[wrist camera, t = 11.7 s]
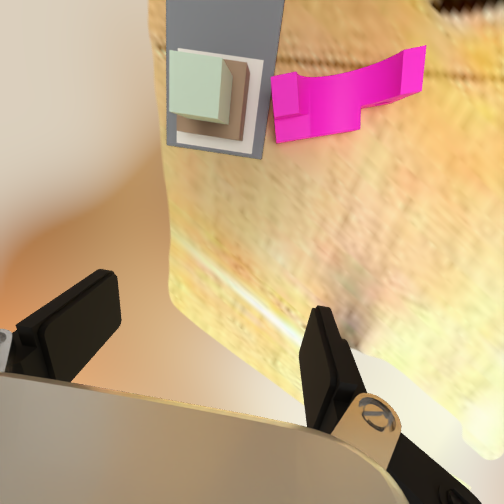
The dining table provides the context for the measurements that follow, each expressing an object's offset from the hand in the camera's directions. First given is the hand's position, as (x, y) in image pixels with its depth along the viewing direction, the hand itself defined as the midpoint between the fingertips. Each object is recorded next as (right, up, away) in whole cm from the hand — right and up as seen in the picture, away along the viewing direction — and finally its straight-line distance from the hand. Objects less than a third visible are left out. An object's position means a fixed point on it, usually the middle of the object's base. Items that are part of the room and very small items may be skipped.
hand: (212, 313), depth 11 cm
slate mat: (-2, +28, +19) cm, 34 cm away
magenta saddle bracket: (+12, +22, +21) cm, 33 cm away
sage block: (-3, +21, +17) cm, 28 cm away
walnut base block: (-3, +23, +21) cm, 31 cm away
